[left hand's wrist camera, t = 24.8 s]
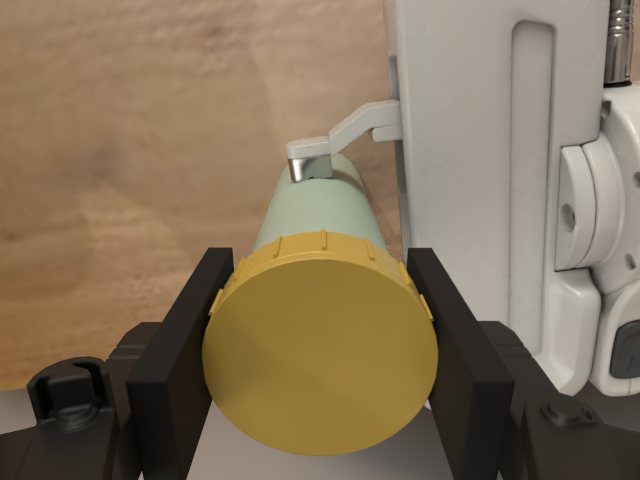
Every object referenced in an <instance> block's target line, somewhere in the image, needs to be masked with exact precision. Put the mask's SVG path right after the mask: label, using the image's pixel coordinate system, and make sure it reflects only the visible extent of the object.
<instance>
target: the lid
mask: <svg viewBox="0 0 640 480" xmlns="http://www.w3.org/2000/svg"><path fill="white" fill-rule="evenodd" d="M208 315H209V316H211V318H210V321H209V323H208V326H207V328H206V331H205V335H204V339H203V343H202V361H203V370H204V378H205V382H206V385H207V387H208V390H209V392H210V395H211V397H212V398H213V400H214V402H215V403H216V405H217V407H218V408H219V409H220V410H221V412H222V413H223V414H224V416H225V417H226V418H227V419H228V420H229V421H230V422H231V423H232V424H233V425H234V426H236V427H237V428H238V429H239V430H241V431H242V432H243V433H245V434H246V435H248V436H249V437H251V438H253V439H254V440H256V441H258V442H260V443H262V444H265V445H267V446H269V447H272V448H275V449H278V450H281V451H284V452H289V453H293V454H299V455H307V456H333V455H341V454H347V453H352V452H356V451H359V450H363V449H366V448H368V447H371V446H373V445H376V444H378V443H380V442H382V441H384V440H386V439H388V438H389V437H391V436H392V435H394V434H395V433H397V432H398V431H400V430H401V429H402V428H403V427H405V426H406V425H407V424H408V423H409V422H410V421H411V420H412V419H413V418H414V417H415V416H416V414H417V413H418V412H419V411H420V410H421V408H422V407H423V405H424V404H425V402H426V401H427V399H428V397H429V395H430V393H431V391H432V389H433V385H434V382H435V379H436V372H437V364H438V351H439V349H438V343H437V337H436V334H435V331H434V328H433V325H432V322H433V321H434V319H433V317H432V314H431V312H430V310H429V308H428V306H427V303H426V301H425V299H424V297H423V295H422V294H421V295H419V293H418V290H417V288H416V287H415V285H414V283H413V281H412V279H411V277H410V276H409V275H408V273H407V270H406V268H405V266H404V264H403V263H402V261H401V262H400V263H398V262H397V261H396V260H395V259H394V258H393V257H392V256H390V255H389V254H388V253H387V252H385V251H384V250H382V249H381V248H379V247H377V246H375V245H374V244H372V243H370V240H369V239H367V238H365V240H363V239H360V238H357V237H354V236H350V235H347V234H341V233H334V232H326V229H321V232H306V233H299V234H294V235H290V236H286V237H283V238H282V236H278V237H277V240H275V241H273V242H271V243H269V244H267V245H265V246H263V247H261V248H260V249H258V250H257V251H255V252H254V253H252V254H251V255H250V256H248V257H247V258H246V259H245V258H244V257H243V258H242V259H241V260H240V263H239V265H238V267H237V268H236V270H235V271H234V272H233V273H232V275H231V276H230V278H229V280H228V281H227V283H226V285H225V287H224V289H223V290H222V289H220V290H219V292H218V294H217V297H216V299H215V301H214V303H213V305H212V307H211V310H210V312H209V314H208Z"/></svg>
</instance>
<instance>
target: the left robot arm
mask: <svg viewBox="0 0 640 480" xmlns="http://www.w3.org/2000/svg"><path fill="white" fill-rule="evenodd" d="M406 270H407V273H408V275H409V276H410V277H411V279H412V281H413V283H414V285H415V287H416V288H417V290H418V293H419V295H421V294H422V295H423V297H424V299H425V301H426V303H427V306H428V308H429V310H430V312H431V314H432V317H433V319H434V321H433V322H432V325H433V328H434V331H435V334H436V337H437V343H438V349H439V351H438V364H437V372H436V379H435V382H434V385H433V389H432V391H431V393H430V395H429V397H428V401H429V404H430V407H431V410H432V414H433V416H434V420H435V423H436V426H437V429H438V432H439V435H440V438H441V441H442V444H443V447H444V450H445V453H446V456H447V459H448V462H449V465H450V469H451V471H452V475H453V478H454V480H496V479H497V474H498V469H499V471H500V473H501V476H502V478H503V480H640V433H639V432H635V431H630V430H626V429H621V428H617V427H613V426H610V425H606V424H604V423H603V421H602V420H601V418H600V417H599V415H598V414H597V413H596V411H594V410H593V409H592V408H591V407H589V406H588V405H587V404H586V403H584V402H582V401H580V400H578V399H576V398H574V397H572V396H570V395H566V394H563V393H560V392H559V391H558V390H557V388H556V387H555V386H554V384H553V383H552V382H551V380H550V379H549V378H548V376H547V375H546V374H545V372H544V371H543V369H542V368H541V367H540V365H539V364H538V363H537V361H536V360H535V359H534V358H532V355H531V353H530V352H529V351H528V349H527V348H526V347H524V344H523V342H522V341H521V340H520V338H519V337H518V336H517V334H516V333H515V332H514V331H513V330H511V329H510V328H508V327H507V326H505V325H504V324H502V323H501V322H500V321H477V319H476V318H475V316H474V315H473V313H472V311H471V310H470V308H469V307H468V305H467V303H466V302H465V300H464V299H463V297H462V295H461V294H460V292H459V291H458V289H457V287H456V286H455V284H454V283H453V281H452V279H451V278H450V276H449V275H448V273H447V272H446V270H445V268H444V267H443V265H442V264H441V262H440V260H439V259H438V257H437V256H436V254H435V252H434V251H433V249H432V248H408V255H407V268H406ZM233 272H234V264H233V251H232V248H208V250H207V251H206V253H205V254H204V256H203V258H202V259H201V261H200V262H199V264H198V266H197V267H196V269H195V270H194V272H193V274H192V275H191V277H190V278H189V280H188V282H187V283H186V285H185V286H184V288H183V290H182V291H181V293H180V294H179V296H178V298H177V299H176V301H175V302H174V304H173V306H172V307H171V309H170V310H169V312H168V314H167V315H166V317H165V318H164V320H163V322H141V323H140V324H139V325H137V326H136V327H134V328H133V329H131V330H130V331H128V332H127V333H126V334H125V335H124V337H123V338H122V339H121V341H120V342H119V343H118V345H117V348H115V349H114V350H113V351H112V353H111V354H110V356H109V359H107V360H106V361H105V362H104V361H103V360H101V359H99V358H94V357H75V358H71V359H67V360H63V361H60V362H57V363H55V364H53V365H51V366H48V367H46V368H45V369H43V370H42V371H40V372H39V373H38V374H36V375H35V376H33V378H32V379H31V380H30V382H29V383H28V384H27V385H26V386H27V390H28V393H29V397H30V400H31V403H32V407H33V410H34V414H35V417H36V420H37V424H36V426H34V427H30V428H27V429H23V430H18V431H14V432H10V433H5V434H0V480H138V478H139V476H140V474H141V472H142V473H143V478H144V480H186V479H187V475H188V472H189V469H190V466H191V463H192V460H193V457H194V454H195V451H196V448H197V445H198V442H199V439H200V436H201V433H202V430H203V426H204V423H205V420H206V417H207V414H208V411H209V408H210V405H211V402H212V399H213V398H212V397H211V395H210V392H209V390H208V387H207V385H206V382H205V378H204V370H203V361H202V343H203V339H204V335H205V331H206V328H207V326H208V323H209V321H210V318H211V316H209V315H208V314H209V312H210V310H211V307H212V305H213V303H214V301H215V299H216V297H217V294H218V292H219V290H220V289H222V290H223V289H224V287H225V285H226V283H227V281H228V280H229V278H230V276H231V275H232V273H233Z"/></svg>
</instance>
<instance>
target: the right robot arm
mask: <svg viewBox="0 0 640 480" xmlns="http://www.w3.org/2000/svg"><path fill="white" fill-rule="evenodd" d="M382 3H383V16H384V28H385V40H386V53H387V65H388V77H389V90H390V100H385V101H379V102H372V103H366V104H363V105H362V106H361V107H359V108H358V109H357V110H356V111H354V112H353V113H352V114H351V115H349V116H348V117H347V118H346V119H344V120H343V121H342V122H341V123H339V124H338V125H337V126H336V127H334V128H333V129H332V130H331V131H329V132H328V136H321V137H314V138H307V139H301V140H295V141H291V142H288V143H287V144H286V153H287V159H288V164H289V170H290V175H291V181H293V182H301V181H305V180H308V179H309V178H310V177H311V176H312V177H314V178H316V179H323V178H330V177H333V171H332V163H331V157H334V156H335V155H336V154H338V153H339V152H340V151H341V150H343V149H344V148H345V147H347V146H348V145H349V144H351V143H352V142H353V141H355V140H356V139H357V138H359V137H360V136H361V135H363V134H364V133H365V132H368V134H369V136H370V137H371V138H372V140H373V141H374V142H376V143H378V142H386V141H394V151H395V164H396V176H397V188H398V201H399V213H400V225H401V238H402V250H403V262H404V266H405V268H407V255H408V248H432V249H433V251H434V252H435V254H436V256H437V257H438V259H439V260H440V262H441V264H442V265H443V267H444V268H445V270H446V272H447V273H448V275H449V276H450V278H451V279H452V281H453V283H454V284H455V286H456V287H457V289H458V291H459V292H460V294H461V295H462V297H463V299H464V300H465V302H466V303H467V305H468V307H469V308H470V310H471V311H472V313H473V315H474V316H475V318H476V319H477V321H500V322H501V323H502V324H504V325H505V326H507V327H508V328H510V329H511V330H513V331H514V332H515V333H516V334H517V336H518V337H519V338H520V340H521V341H522V342H523V344H524V347H526V348H527V349H528V351H529V352H530V353H531V355H532V358H534V359H535V360H536V361H537V363H538V364H539V365H540V367H541V368H542V369H543V371H544V372H545V374H546V375H547V376H548V378H549V379H550V380H551V382H552V383H553V384H554V386H555V387H556V388H557V390H558V391H559V392H560V393H563V394H566V395H570V396H574V395H575V394H576V393H578V392H579V391H580V390H581V389H582V387H583V386H584V385H585V383H586V382H587V380H589V381H590V382H591V383H592V384H593V385H594V386H595V387H596V388H597V389H598V390H599V391H601V392H602V393H603V394H605V395H608V396H627V395H633V394H636V393H639V392H640V81H633V82H629V81H630V71H631V61H632V52H633V37H634V32H632V31H633V24H632V23H633V17H632V15H633V6H634V0H382ZM424 406H425V407H426V408H428V409H430V410H431V407H430V404H429V401H428V399H427V401H426V402H425V404H424Z"/></svg>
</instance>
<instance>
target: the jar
mask: <svg viewBox="0 0 640 480" xmlns="http://www.w3.org/2000/svg"><path fill="white" fill-rule="evenodd" d="M331 163H332V171H333V177H330V178H323V179H316V178H314V177H312V176H311V177H310V178H309V179H308V180H305V181H301V182H293V181H291V175H290V170H289V164H287V165H286V166H285V168H284V169H283V171H282V173H281V175H280V178H279V181H278V183H277V186H276V189H275V191H274V194H273V197H272V199H271V202H270V205H269V207H268V210H267V213H266V215H265V218H264V221H263V223H262V226H261V229H260V231H259V234H258V237H257V239H256V242H255V245H254V247H253V250H252V253H254V252H255V251H257V250H258V249H260V248H261V247H263V246H265V245H267V244H269V243H271V242H273V241H275V240H277V237H278V236H282V238H283V237H286V236H290V235H294V234H299V233H306V232H321V229H326V232H334V233H341V234H347V235H350V236H354V237H357V238H360V239H363V240H365V238H367V239H369V240H370V243H372V244H374V245H375V246H377V247H379V248H381V249H382V250H384V251H385V252H387V253H388V254H389V252H388V250H387V247H386V244H385V242H384V239H383V236H382V234H381V231H380V228H379V226H378V223H377V220H376V218H375V215H374V212H373V210H372V207H371V204H370V202H369V199H368V196H367V194H366V191H365V188H364V186H363V183H362V180H361V178H360V175H359V173H358V171H357V169H356V167H355V166H354V164H353V163H352V162H351V161H350V160H349V159H348V158H346V157H345V156H344V155H342V154H340V153H338V154H336V155H335V156H334V157H331ZM252 253H251V254H252Z"/></svg>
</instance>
